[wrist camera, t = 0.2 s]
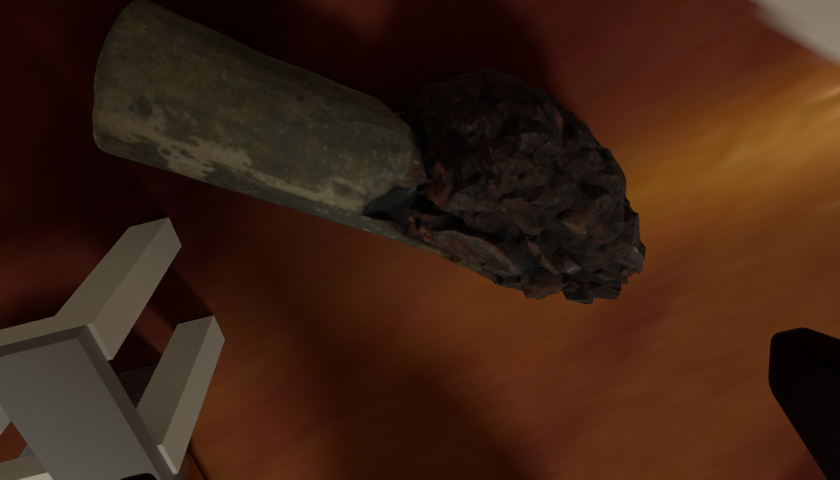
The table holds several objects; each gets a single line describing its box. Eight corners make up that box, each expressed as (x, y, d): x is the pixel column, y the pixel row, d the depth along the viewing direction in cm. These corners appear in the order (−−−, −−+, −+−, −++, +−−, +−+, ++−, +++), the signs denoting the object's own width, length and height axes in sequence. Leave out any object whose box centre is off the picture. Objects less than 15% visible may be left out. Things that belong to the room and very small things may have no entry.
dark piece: (131, 132, 21) (56, 186, 16) (175, -70, 19) (103, -82, 13) (571, 280, 25) (624, 361, 20) (654, 131, 23) (739, 180, 18)
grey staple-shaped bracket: (224, 339, 25) (172, 489, 18) (1, 394, 25) (-136, 564, 18) (168, 217, 22) (82, 336, 15) (-80, 279, 22) (-274, 425, 15)
